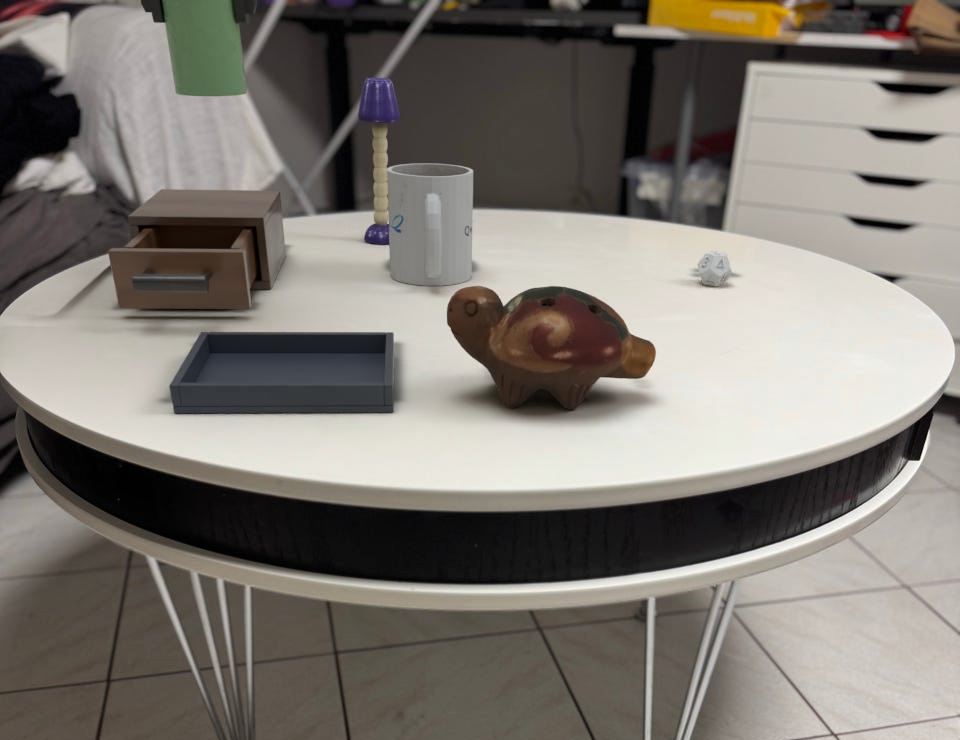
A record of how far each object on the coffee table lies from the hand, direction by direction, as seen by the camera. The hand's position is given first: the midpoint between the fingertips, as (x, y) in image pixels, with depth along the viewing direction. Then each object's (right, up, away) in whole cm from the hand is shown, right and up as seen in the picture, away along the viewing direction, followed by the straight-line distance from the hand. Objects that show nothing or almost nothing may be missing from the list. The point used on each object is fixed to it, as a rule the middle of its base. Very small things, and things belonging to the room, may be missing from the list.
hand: (201, 21), depth 66 cm
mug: (+15, -7, +29) cm, 33 cm away
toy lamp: (+8, +3, +43) cm, 44 cm away
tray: (+6, -25, +3) cm, 26 cm away
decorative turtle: (+25, -27, +2) cm, 37 cm away
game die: (+45, -7, +30) cm, 55 cm away
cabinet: (-7, -6, +30) cm, 31 cm away
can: (0, -4, +3) cm, 4 cm away
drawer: (-6, -13, +19) cm, 24 cm away
